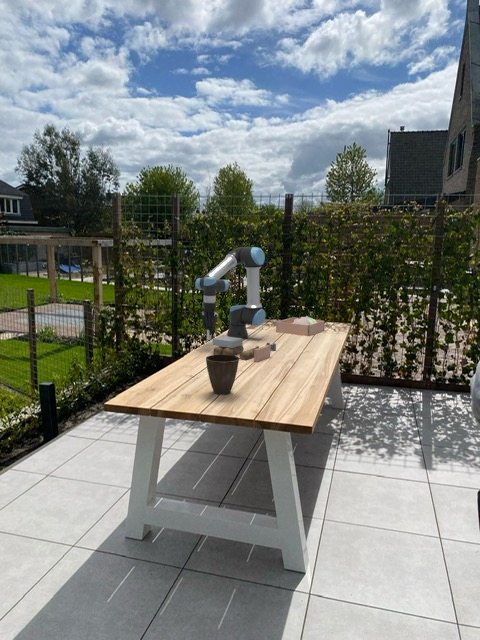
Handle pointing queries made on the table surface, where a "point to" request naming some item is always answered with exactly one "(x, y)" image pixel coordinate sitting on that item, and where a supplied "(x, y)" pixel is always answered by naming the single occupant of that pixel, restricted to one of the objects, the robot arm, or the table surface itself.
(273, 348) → the rack
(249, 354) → the roller
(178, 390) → the table surface
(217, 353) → the roller
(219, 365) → the plant pot
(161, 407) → the table surface
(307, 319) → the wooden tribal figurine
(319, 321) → the planter
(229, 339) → the slab
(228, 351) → the roller
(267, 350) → the block
